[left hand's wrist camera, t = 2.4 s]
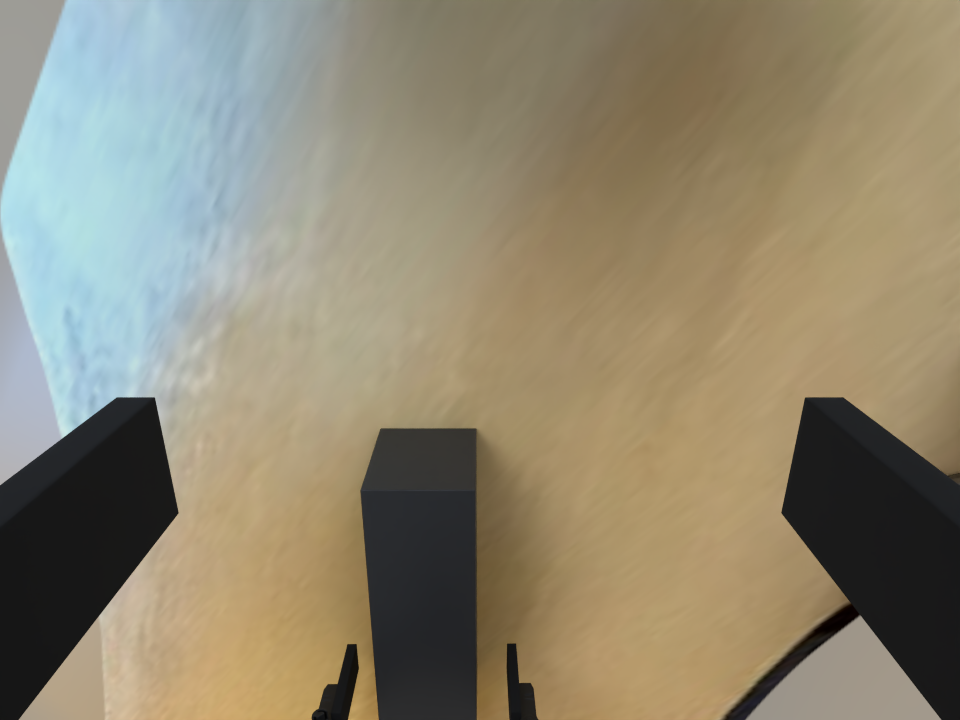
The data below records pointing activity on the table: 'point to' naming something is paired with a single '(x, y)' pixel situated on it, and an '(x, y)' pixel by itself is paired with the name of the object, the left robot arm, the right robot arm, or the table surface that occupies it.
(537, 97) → the table surface
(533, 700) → the right robot arm
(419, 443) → the box
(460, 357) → the table surface
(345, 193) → the table surface
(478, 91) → the table surface
